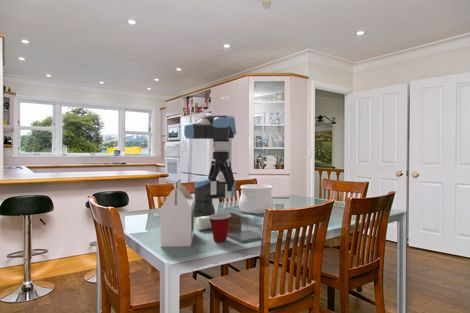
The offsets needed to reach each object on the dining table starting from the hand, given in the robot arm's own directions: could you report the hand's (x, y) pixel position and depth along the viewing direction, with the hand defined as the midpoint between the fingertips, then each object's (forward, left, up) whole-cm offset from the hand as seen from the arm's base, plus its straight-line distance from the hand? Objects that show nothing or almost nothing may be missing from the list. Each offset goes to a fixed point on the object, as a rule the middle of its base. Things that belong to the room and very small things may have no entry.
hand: (220, 196), depth 145 cm
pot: (-48, +57, -21) cm, 77 cm away
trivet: (+1, +14, -21) cm, 25 cm away
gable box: (-12, -16, -21) cm, 29 cm away
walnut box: (-14, +14, -21) cm, 29 cm away
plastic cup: (0, 0, -21) cm, 21 cm away
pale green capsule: (-20, +4, -20) cm, 29 cm away
